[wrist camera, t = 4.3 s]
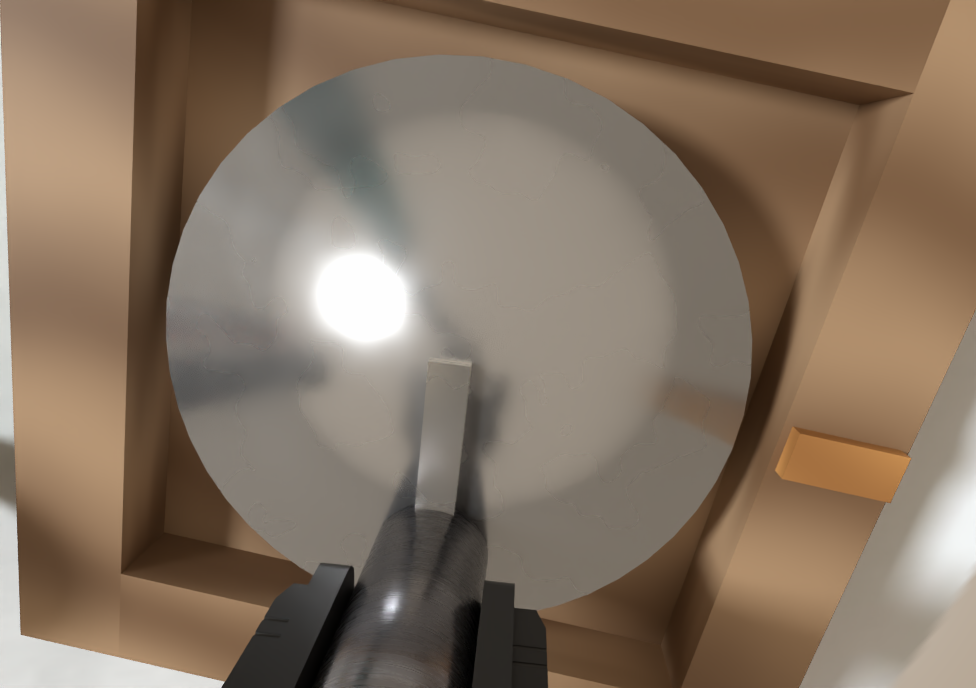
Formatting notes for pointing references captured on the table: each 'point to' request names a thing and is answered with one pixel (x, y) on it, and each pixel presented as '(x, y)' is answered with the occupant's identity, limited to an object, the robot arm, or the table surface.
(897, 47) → the brown flat square frame
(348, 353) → the dial
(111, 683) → the table surface
